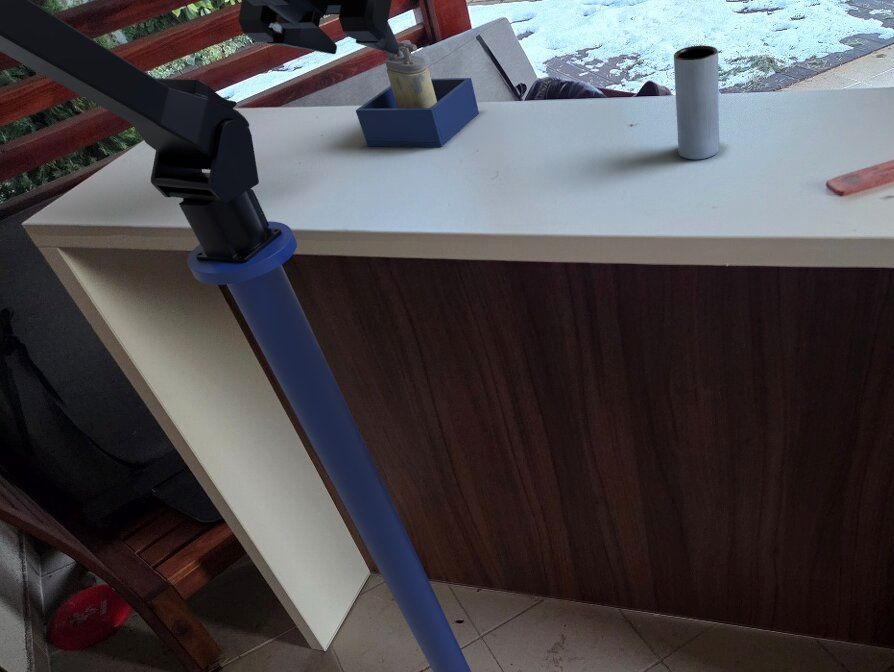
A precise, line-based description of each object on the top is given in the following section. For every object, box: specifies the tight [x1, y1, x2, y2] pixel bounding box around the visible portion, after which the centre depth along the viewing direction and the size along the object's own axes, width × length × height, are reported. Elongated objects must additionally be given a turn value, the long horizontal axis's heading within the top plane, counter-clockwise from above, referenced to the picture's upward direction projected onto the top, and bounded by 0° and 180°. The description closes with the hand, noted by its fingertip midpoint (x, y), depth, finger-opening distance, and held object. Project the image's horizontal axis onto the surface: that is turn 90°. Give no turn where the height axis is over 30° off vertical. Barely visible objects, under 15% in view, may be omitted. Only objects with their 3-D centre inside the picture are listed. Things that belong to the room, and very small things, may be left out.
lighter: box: [384, 39, 437, 108], centre depth 96 cm, size 7×4×10 cm, turn 45°
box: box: [355, 77, 480, 148], centre depth 99 cm, size 11×11×5 cm
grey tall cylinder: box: [673, 45, 720, 160], centre depth 80 cm, size 4×4×10 cm
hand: (365, 50), depth 88 cm, fingers open, 9 cm apart
